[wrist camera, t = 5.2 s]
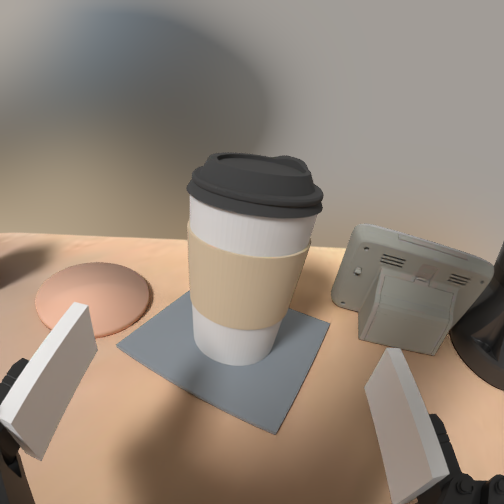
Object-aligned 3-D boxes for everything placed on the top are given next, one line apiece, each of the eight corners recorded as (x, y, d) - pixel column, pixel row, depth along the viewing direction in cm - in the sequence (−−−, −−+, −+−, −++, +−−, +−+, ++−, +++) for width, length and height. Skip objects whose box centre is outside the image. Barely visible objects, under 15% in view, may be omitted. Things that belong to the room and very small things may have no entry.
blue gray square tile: (329, 325, 29) (330, 323, 29) (275, 434, 18) (276, 432, 18) (208, 278, 34) (208, 276, 34) (116, 347, 22) (116, 344, 22)
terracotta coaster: (173, 294, 30) (173, 290, 30) (83, 360, 20) (81, 355, 20) (99, 256, 34) (98, 252, 34) (18, 297, 24) (16, 292, 24)
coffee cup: (219, 393, 20) (249, 175, 13) (162, 321, 26) (167, 144, 19) (306, 348, 26) (357, 175, 19) (243, 295, 32) (267, 146, 25)
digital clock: (451, 327, 31) (488, 250, 27) (456, 375, 24) (509, 285, 19) (336, 285, 37) (360, 203, 32) (314, 323, 30) (345, 223, 25)
